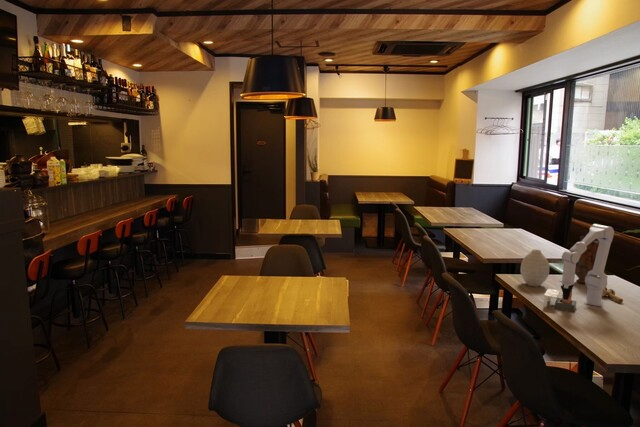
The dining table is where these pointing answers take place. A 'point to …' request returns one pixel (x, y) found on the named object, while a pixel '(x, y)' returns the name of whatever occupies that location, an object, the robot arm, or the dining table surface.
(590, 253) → the pitcher
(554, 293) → the beige block
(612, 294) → the kendama
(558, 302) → the socket
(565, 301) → the peg
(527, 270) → the vase
